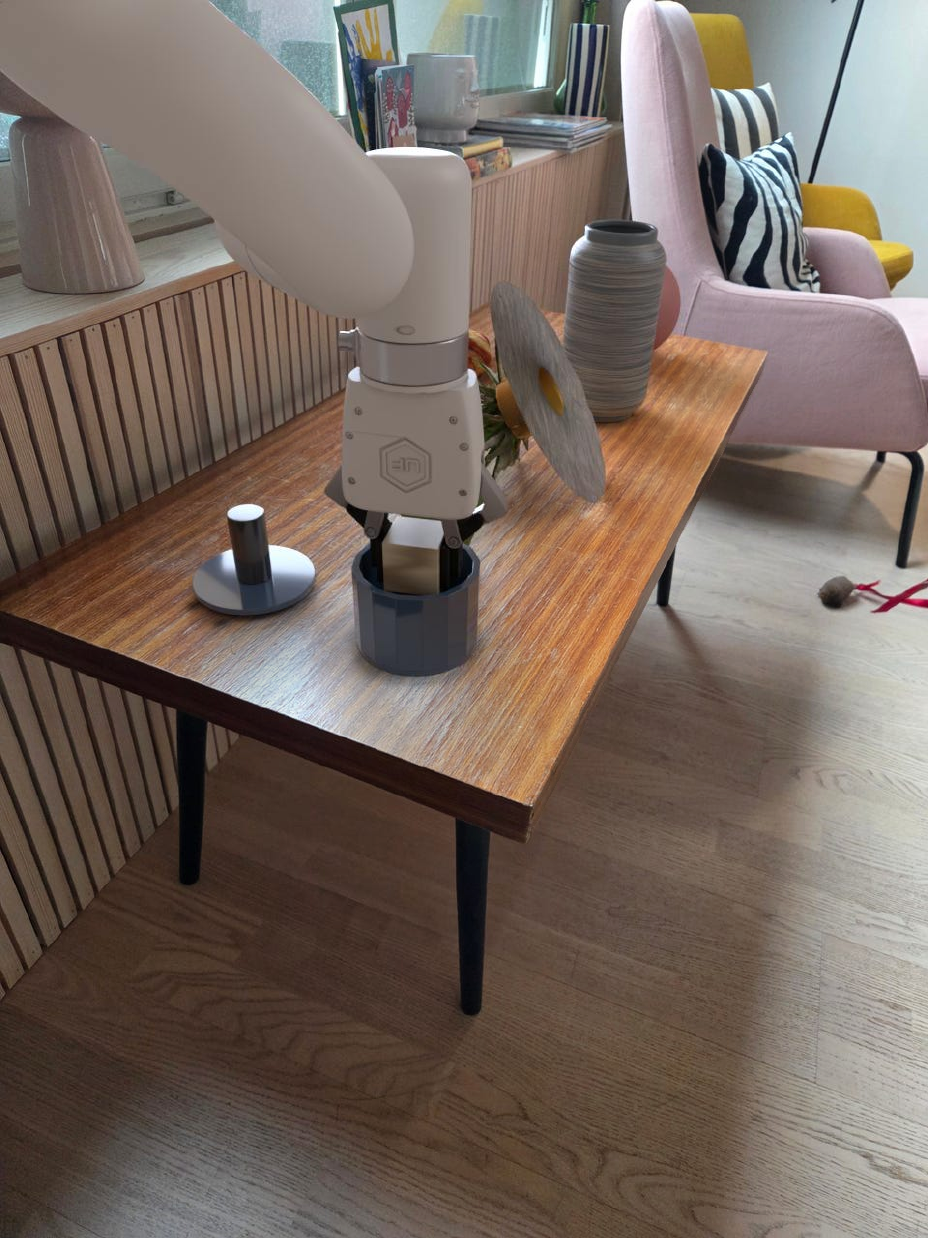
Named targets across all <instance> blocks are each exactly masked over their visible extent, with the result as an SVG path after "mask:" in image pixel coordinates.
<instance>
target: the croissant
mask: <svg viewBox="0 0 928 1238" xmlns="http://www.w3.org/2000/svg"><path fill="white" fill-rule="evenodd" d="M474 357H476V358H477V359H478V360H479V361H481V362H482V363H483V364H484V365H486V366H487V367H489V368H490V369H491V366H493V353H492V349H491V339H490V338H489V336H488V335H487V334H484V333H483V332H480V331H478V330H473V329H470V328H469V340H468V369H471V370H473V371H474V372H475V373H476V376H477V378H478V377H479V376H481V375H483V374H484V373H485V372H487V371H486V370H485V369H484V368H482V367H480V364H478V363H477V361H476V360H475V359H474Z"/></svg>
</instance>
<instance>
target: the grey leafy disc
mask: <svg viewBox="0 0 928 1238" xmlns="http://www.w3.org/2000/svg"><path fill="white" fill-rule="evenodd" d="M489 306H490V307H489V308H490V317H491V325H492V331H493V336H494V339H493V341H494V358H495V364H496V365H495V366H496V372H495V371H494V370H493V369H491V367H490V368H489V367H487V366H486V365H484V364H483V363H482V362H481V361H479V360H478V359H477V358H476V357H474V359H475V360H476V361H477V363H478V364H480V367H482V368H484V369H485V370H486V371H485V372H486V373H487V374H488V377H489V378H490V380H491V381H492V383H493V384H494V385H495V386H493V385H492V384H491V383H489V384H488V385H485V384H484V383H483V382H481V381H480V380H478V379H477V381H478V386H479V392H480V394H481V395H480V398H481V406H482V416H483V429H484V448H485V452H487V453H486V454H485V467H486V468H487V469H488V467H489V466H490V464H491V463H492V461H493V460H494V459H495V464H494V466H493V469H492V473H491V476H492V477H493V479H494V480H495V481H496V480H497V478H498V476H499V474H500V473H501V471H504V472H505V471H506V470H507V468H509V467H513V466H514V465H515V464H516V462H517V461H519V462H520V461H521V458H520V456H521V455H520V453H521V452H520V451H521V443H522V444H523V446H524V448H525V450H526V451H529V439H530V438H531V437H532V439H533V441H534V442H535V443H536V444H537V446H538V448H539V449H540V451H541V452H542V453H543V455H544V457H545V458H546V460H547V461H548V463H549V464H550V465H551V467H552V469H553V470H554V472H555V473H557V476H559V478H560V479H561V481H563V482H564V484H565V485H566V486H567V487H568V488H569V489H570V491H572V492H574V493H575V494H576V495H577V496H579V497H580V498H581V499H583V500H585V501H587V502H589V503H597V502H599V501H600V500H601V499H602V497H603V496H604V493H605V489H606V484H607V483H606V482H607V471H606V464H605V459H604V454H603V450H602V444H601V442H602V441H601V438H600V434H599V431H598V428H597V424H596V422H595V421H594V418H593V415H592V413H591V411H590V409H589V407H588V405H587V402H586V398H585V394H584V390H583V387H582V385H581V382H580V380H579V378H578V376H577V374H576V372H575V370H574V369H573V367H572V365H571V364H570V362H569V360H568V358H567V356H566V353H565V351H564V349H563V347H562V345H563V343H562V342H561V340H560V339H559V337H558V335H557V334H556V331H555V330H554V328H553V326H552V325H551V323H550V322H549V320H548V318H547V317H546V316H545V314H544V313H543V312H542V311H541V309H540V308H539V306H537V304H535V302H534V301H533V300H532V298H530V297H529V295H527V294H526V293H525V292H524V291H523V290H522V289H521V288H520V287H518V286H517V285H515V284H513V283H512V282H510V281H507V280H499V281H498V282H496V283H495V284H494V285H493V287H492V291H491V294H490V305H489Z"/></svg>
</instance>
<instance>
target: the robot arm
mask: <svg viewBox="0 0 928 1238" xmlns="http://www.w3.org/2000/svg"><path fill="white" fill-rule="evenodd" d="M0 72H1V73H2V74H3V75H4V76H6V77H7V79H9V80H10V81H11V82H12V83H14V84H15V85H16V86H17V87H19V88H20V89H21V90H22V91H23V92H25V93H27V95H29V96H30V97H31V98H33V99H35V100H36V101H37V102H38V103H41V105H43V106H44V107H46V108H47V109H48V110H49V111H51V112H52V113H54V115H56V116H57V117H59V118H61V119H62V120H63V121H65V122H66V123H68V124H69V125H71V126H72V127H75V129H77V130H79V131H81V132H82V133H84V134H86V135H88V136H89V137H91V138H93V139H95V140H96V141H98V142H100V143H102V144H103V145H106V146H108V147H109V148H111V149H113V150H115V151H116V152H118V153H120V154H121V155H124V156H125V157H126V158H129V159H130V160H132V161H133V162H134V163H137V164H138V165H139V166H141V167H143V168H144V169H146V170H147V171H149V172H151V173H152V174H154V175H155V176H156V177H158V178H159V179H160V180H162V181H163V182H165V184H167V185H169V186H170V187H171V188H173V189H174V190H175V191H177V192H179V194H181V195H182V196H184V197H185V198H186V199H187V200H189V201H190V202H192V203H193V204H194V205H195V206H197V207H198V208H199V209H200V210H202V211H203V212H204V213H206V215H208V216H209V217H210V218H211V219H213V222H214V227H215V230H216V234H217V236H218V239H219V241H220V243H221V245H222V246H223V248H224V249H225V251H226V253H227V254H228V255H229V257H230V258H231V259H232V260H233V262H235V264H236V265H238V266H239V267H240V268H241V269H243V270H244V271H245V272H246V273H248V274H249V275H251V276H252V277H254V278H256V279H258V280H259V281H261V282H262V283H265V284H266V285H268V286H270V287H272V288H274V289H276V290H278V291H280V292H281V293H284V294H286V295H288V296H290V297H291V298H293V299H295V300H297V301H298V302H300V303H302V304H304V305H305V306H307V307H309V309H312V310H314V311H316V312H317V313H320V314H322V315H325V316H328V317H331V318H336V319H341V320H353V319H354V320H356V327H355V329H350V331H343V330H341V331H340V332H339V333H338V337H337V348H338V350H339V351H340V352H348V353H349V354H351V355H353V356H354V359H355V364H356V365H355V367H354V368H353V369H352V370H351V371H349V372H348V375H347V380H346V385H345V391H344V392H345V393H344V401H343V416H342V431H341V434H342V435H341V465H340V466H339V468H338V469H337V470H336V472H335V473H334V474H333V476H332V477H331V478H330V480H329V481H328V482H327V484H326V486H325V487H324V489H323V492H324V494H325V496H326V497H327V498H328V499H330V500H332V501H333V502H334V503H335V504H337V505H338V506H339V507H341V508H344V509H345V511H346V513H347V514H348V515H349V516H350V517H351V518H352V519H353V520H354V521H355V522H357V523H356V524H358V525H359V526H360V527H362V529H363V534H364V536H365V537H366V538H368V539H369V543H370V550H371V565H372V567H377V581H378V583H384V579H383V556H382V542H383V540H384V538H385V537H386V535H387V533H388V531H389V529H390V527H391V526H392V524H393V522H394V521H390V519H389V515H390V514H393V515H399V516H401V515H409V516H418V517H427V518H437V519H440V520H441V524H442V528H443V532H444V541H443V543H442V545H441V548H440V589H441V590H442V591H447V590H449V588H450V585H451V582H452V580H453V577H460V574H461V571H462V552H463V541H465V540H466V539H467V538H469V537H470V536H471V535H473V534H474V535H475V533H477V532H478V531H479V530H481V529H482V528H483V527H484V526H485V525H489V524H491V523H493V522H495V521H497V520H499V519H501V518H503V517H504V516H505V515H506V514H507V513H508V510H509V508H510V507H509V506H510V501H509V499H508V498H507V496H506V495H505V494H504V492H503V491H502V489H501V487H500V486H499V484H498V483H497V481H496V480H494V479H493V477H492V476H491V475H492V473H490V471H489V470H488V467H487V468H486V467H485V463H486V462H485V456H486V451H485V448H484V429H483V416H482V404H481V401H482V400H481V398H480V396H481V392H480V391H479V386H478V381H479V380H478V377H477V376H476V373H475V372H474V371H473V370H471V369H468V340H469V329H470V328H469V326H470V291H471V290H470V286H471V285H470V284H471V249H472V248H471V247H472V246H471V245H472V243H471V241H472V209H473V207H472V205H473V183H472V181H473V180H472V175H471V171H470V168H469V166H468V165H467V163H466V161H465V160H464V158H462V157H461V156H460V155H458V154H455V153H453V152H451V151H448V150H442V149H438V148H430V147H428V148H427V147H415V146H413V147H411V146H408V147H407V146H405V147H404V146H401V147H387V148H379V149H378V148H377V149H374V150H369V151H367V152H365V151H364V149H363V148H362V147H361V146H360V145H359V144H358V142H357V141H356V140H355V139H354V137H352V136H351V135H350V134H349V132H348V131H347V130H346V129H345V128H344V126H343V125H342V124H341V123H340V122H339V121H338V120H337V119H336V118H335V117H334V116H333V115H332V113H331V112H330V111H329V110H328V109H327V108H326V107H325V106H324V105H323V103H322V102H320V100H319V99H318V97H316V96H315V95H314V94H313V93H312V92H311V91H310V90H309V89H308V88H307V87H306V86H305V85H304V84H303V83H302V82H301V81H300V80H299V79H298V78H297V77H296V76H295V75H293V74H292V72H290V71H289V70H288V69H287V68H286V67H285V66H284V65H283V64H282V63H281V62H279V60H278V59H276V57H274V56H273V55H272V54H271V53H270V52H268V51H267V50H266V49H265V48H264V47H263V46H262V45H260V44H259V43H258V42H257V41H256V40H255V39H253V38H252V37H251V36H250V35H249V34H248V33H247V32H245V31H244V30H243V29H241V27H239V26H238V25H237V24H236V23H235V22H233V20H231V19H230V18H229V17H228V16H227V15H225V14H224V13H223V12H222V11H220V9H218V7H216V6H215V5H214V4H213V3H212V1H210V0H0ZM477 380H478V381H477ZM479 496H480V497H481V499H482V500H483V502H484V503H483V504H482V505H481V506H477V503H478V499H479ZM476 506H477V507H476ZM474 535H473V536H474Z"/></svg>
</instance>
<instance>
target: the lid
mask: <svg viewBox="0 0 928 1238" xmlns="http://www.w3.org/2000/svg"><path fill="white" fill-rule="evenodd" d="M226 520H227V526H228V527H227V528H228V533H229V539H230V545H231V549H228V550H225V551H222V552H221V553H218V554H216V555H214V556H212V557H210V558H209V559H208V560H206V561H204V562H203V563H202V564H201V565H200V566H199V567H198V568H197V570H196V571H195V573H194V574H193V577H192V581H191V585H192V591H193V595H194V596H195V598H196V599H197V601H199V602H200V604H202V605H203V606H204V607H206V608H208V609H210V610H212V611H215V612H217V613H221V614H225V615H226V614H227V615H230V616H231V615H233V616H256V615H265V614H269V613H274V612H277V611H280V610H284V609H287V608H289V607H290V606H293V605H295V604H296V603H298V602H300V601H301V600H303V599H304V598H305V597H306V596H307V595H308V594H310V592H311V591H312V589H313V588H314V586H315V583H316V581H317V580H316V579H317V575H316V567H315V565H314V563H313V561H312V560H311V559H310V558H309V557H308V556H307V555H306V554H304V553H303V552H300V551H298V550H296V549H293V548H291V547H287V546H282V545H275V544H269V537H268V530H267V521H266V513H265V510H264V508H263V507H262V506H260V505H257V504H253V503H252V504H251V503H246V504H245V503H244V504H243V503H242V504H239V505H236V506H233V507H231V508H230V509H229V510H227V512H226Z"/></svg>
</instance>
